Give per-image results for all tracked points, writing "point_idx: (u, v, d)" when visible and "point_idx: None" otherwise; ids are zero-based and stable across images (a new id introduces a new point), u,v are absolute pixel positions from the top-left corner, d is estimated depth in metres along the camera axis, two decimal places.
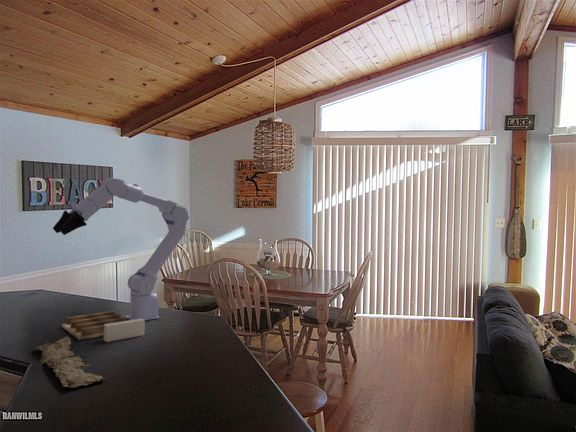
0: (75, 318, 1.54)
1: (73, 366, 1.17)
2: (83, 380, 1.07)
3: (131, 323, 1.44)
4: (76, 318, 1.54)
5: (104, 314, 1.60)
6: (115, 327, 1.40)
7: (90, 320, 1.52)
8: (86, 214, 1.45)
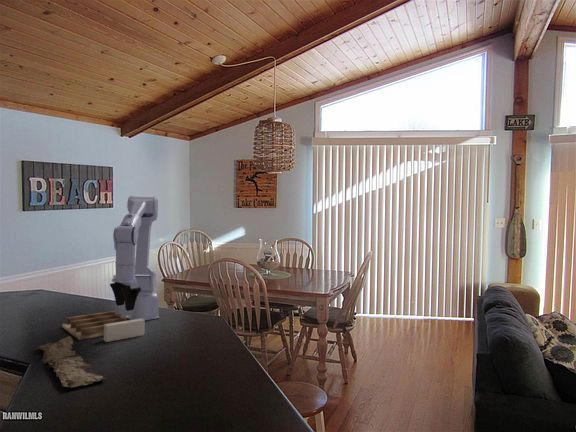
0: (75, 318, 1.54)
1: (74, 366, 1.17)
2: (83, 380, 1.07)
3: (131, 323, 1.44)
4: (76, 318, 1.54)
5: (104, 314, 1.60)
6: (115, 327, 1.40)
7: (90, 320, 1.52)
8: (133, 284, 1.37)
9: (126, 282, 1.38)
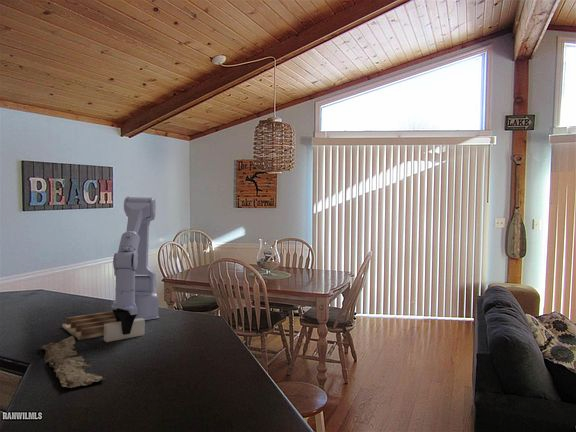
0: (75, 318, 1.54)
1: (74, 366, 1.17)
2: (82, 380, 1.07)
3: None
4: (76, 318, 1.54)
5: (104, 314, 1.60)
6: (115, 327, 1.40)
7: (90, 320, 1.52)
8: (133, 310, 1.38)
9: (126, 308, 1.39)
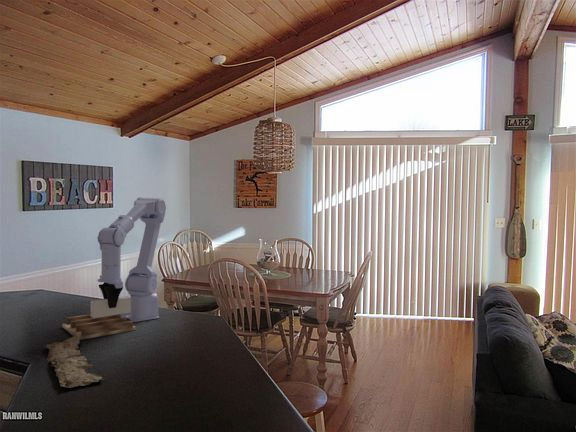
0: (75, 318, 1.54)
1: (76, 366, 1.17)
2: (81, 380, 1.07)
3: None
4: (76, 318, 1.54)
5: None
6: (101, 303, 1.45)
7: (90, 320, 1.52)
8: (118, 284, 1.42)
9: (111, 282, 1.43)
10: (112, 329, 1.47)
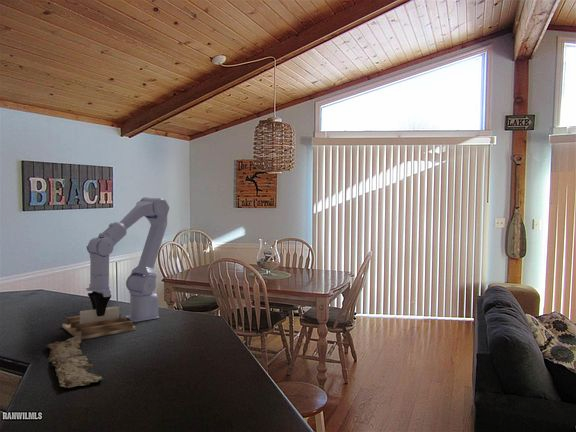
0: (75, 318, 1.54)
1: (76, 365, 1.17)
2: (81, 380, 1.07)
3: (106, 310, 1.52)
4: (76, 318, 1.54)
5: None
6: (90, 314, 1.49)
7: None
8: (106, 293, 1.46)
9: (99, 291, 1.47)
10: (112, 329, 1.47)
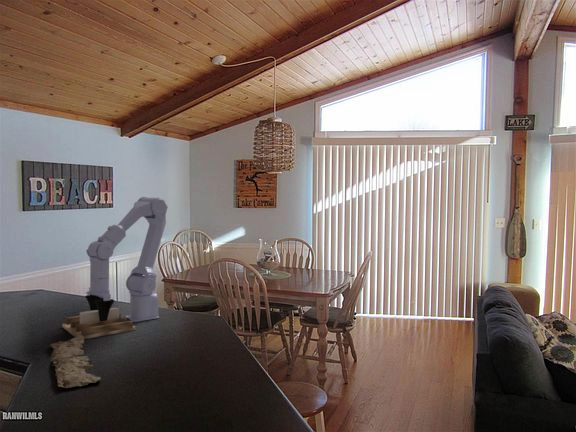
0: (75, 318, 1.54)
1: (76, 366, 1.17)
2: (79, 381, 1.07)
3: None
4: (76, 318, 1.54)
5: None
6: (90, 315, 1.49)
7: None
8: (106, 296, 1.46)
9: (99, 295, 1.47)
10: (112, 329, 1.47)
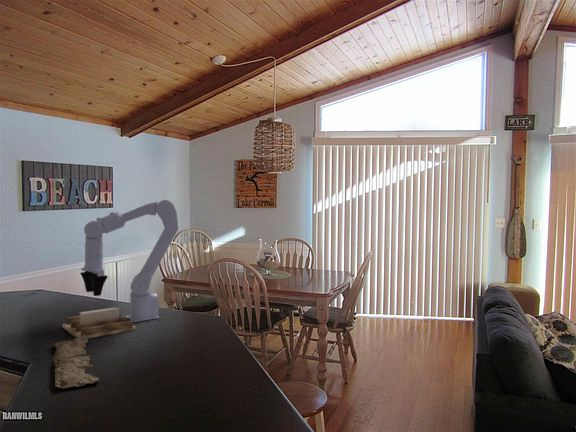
0: (75, 318, 1.54)
1: (77, 366, 1.17)
2: (76, 381, 1.06)
3: (106, 311, 1.52)
4: (76, 318, 1.54)
5: None
6: (90, 315, 1.49)
7: None
8: (100, 272, 1.56)
9: (94, 271, 1.57)
10: (112, 329, 1.47)
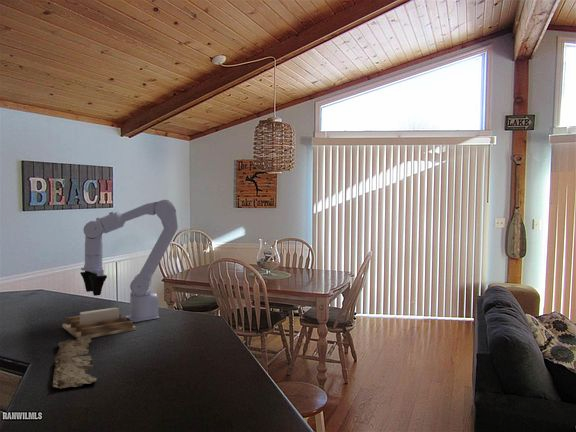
0: (75, 318, 1.54)
1: (77, 365, 1.17)
2: (74, 381, 1.06)
3: (106, 311, 1.52)
4: (76, 318, 1.54)
5: None
6: (90, 315, 1.49)
7: None
8: (99, 272, 1.56)
9: (93, 270, 1.57)
10: (112, 329, 1.47)
